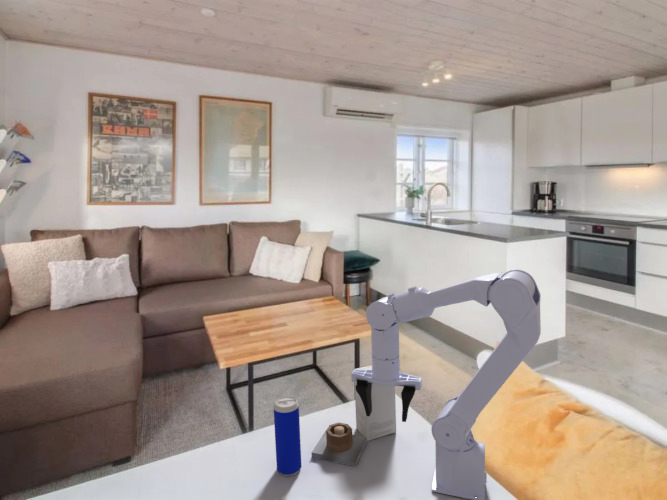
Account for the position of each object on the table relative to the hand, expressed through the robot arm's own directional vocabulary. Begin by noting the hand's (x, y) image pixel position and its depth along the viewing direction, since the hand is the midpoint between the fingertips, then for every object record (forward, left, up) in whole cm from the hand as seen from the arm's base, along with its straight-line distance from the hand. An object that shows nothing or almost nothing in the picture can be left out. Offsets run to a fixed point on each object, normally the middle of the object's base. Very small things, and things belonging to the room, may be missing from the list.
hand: (386, 416), depth 85 cm
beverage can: (+19, +9, -10) cm, 23 cm away
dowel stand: (+11, 0, -10) cm, 15 cm away
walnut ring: (+11, 0, -9) cm, 14 cm away
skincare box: (+5, -10, -10) cm, 15 cm away
